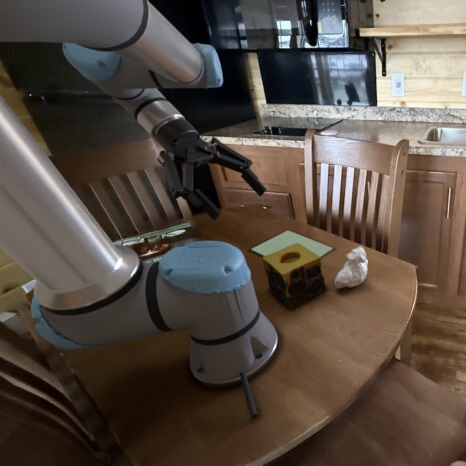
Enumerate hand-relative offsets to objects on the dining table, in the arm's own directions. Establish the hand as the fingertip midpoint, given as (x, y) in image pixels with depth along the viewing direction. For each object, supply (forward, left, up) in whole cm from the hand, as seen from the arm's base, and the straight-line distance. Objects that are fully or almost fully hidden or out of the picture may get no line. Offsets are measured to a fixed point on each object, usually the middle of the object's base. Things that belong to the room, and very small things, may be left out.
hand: (242, 204), depth 71 cm
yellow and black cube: (-7, -9, -22) cm, 24 cm away
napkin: (+13, -8, -22) cm, 27 cm away
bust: (-7, -23, -22) cm, 32 cm away
